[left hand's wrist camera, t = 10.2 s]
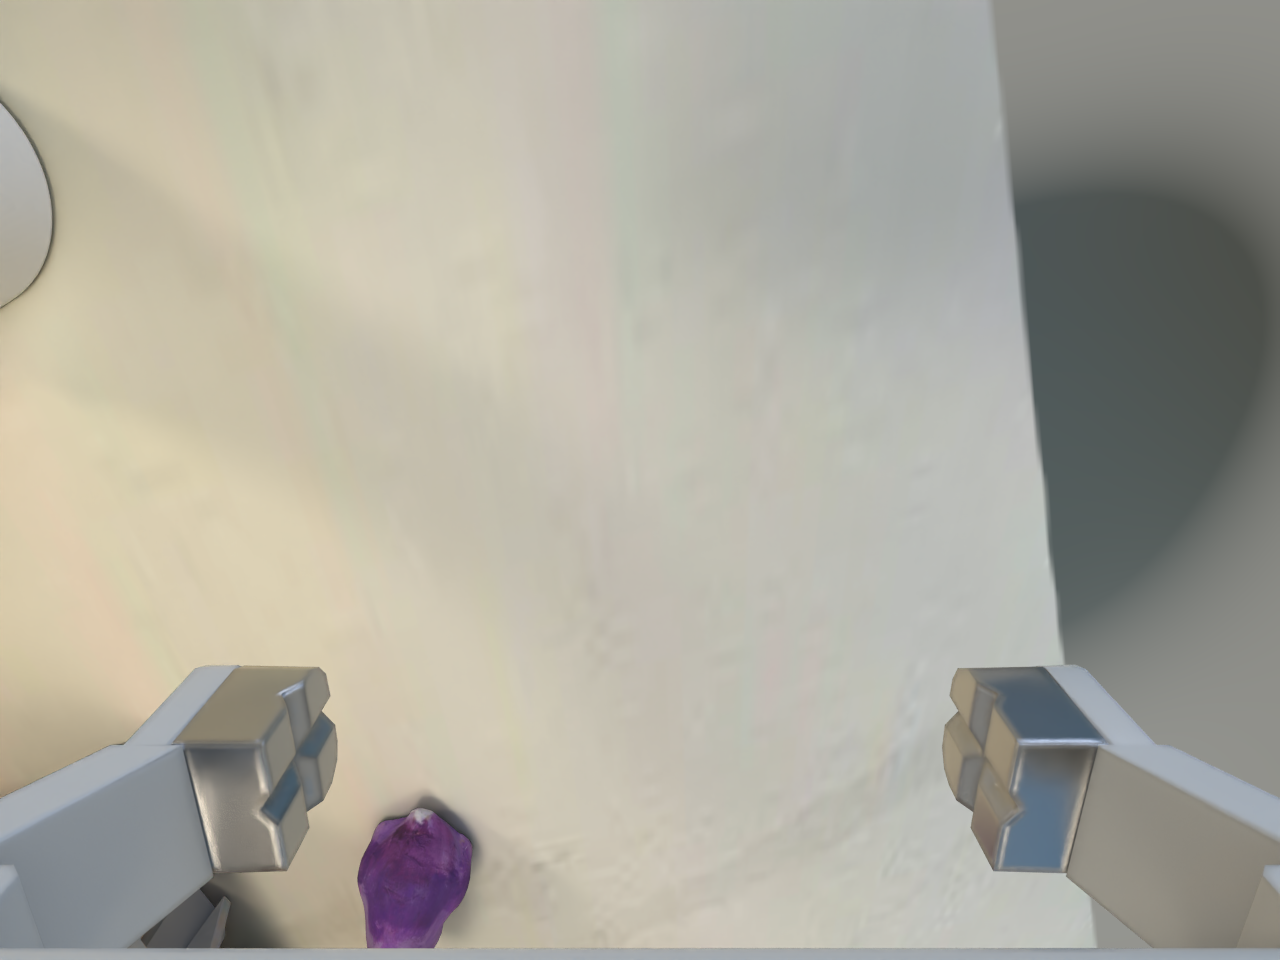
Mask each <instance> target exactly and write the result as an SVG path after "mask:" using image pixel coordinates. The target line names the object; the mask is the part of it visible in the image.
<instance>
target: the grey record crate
mask: <svg viewBox="0 0 1280 960" xmlns="http://www.w3.org/2000/svg"><path fill="white" fill-rule="evenodd" d="M230 905H231V903H230V901H229V900H228V899H227V898H226V897H225V896H223V898H222V899H221V901H220V902H219V903H218V905H217V906H216V907H214V906H213V905H212V903H211V902H210V901H209V900H208V898H207V897H206V896H205V895H204V894H203V892H202V891H201V890H200V889H198V890H197V891H196V892H195V893H194V894H192V895H191V896H190V897H189V898H187V899H186V900H185V901H184V902H183V903H181V904H180V905H179V906H178V907H177V908H175V909H174V910H173V911H172V912H170V913H169V914H168V915H167V916H166V917H164V918H163V919H162V920H161V921H160V922H158V923H157V924H156V925H155V926H153V927H152V928H151V929H150V930H149V931H147V932H146V933H145V934H144V935H143V937H142V936H141V937H140V938H139V939H138V940H136V941H135V942H134V943H133V944H132V945H130V946H129V947H128V948H219V947H220V945H221V943H222V941H223V940H224V938H225V924H226V920H227V916H228V913H229V909H230Z"/></svg>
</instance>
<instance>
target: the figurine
mask: <svg viewBox="0 0 1280 960" xmlns="http://www.w3.org/2000/svg"><path fill="white" fill-rule="evenodd" d="M472 848H473V847H472V845H471V842H470V840H469V839H468V838H467V837H465V836H464V835H463V834H460V833H458V832H457V831H456V830H455V829H454V828H453V827H451V826H450V825H449V824H448V823H447V822H446V821H444V820H443V819H442V818H440V817H439V816H438V815H436V814H435V813H434V812H433V811H431V810H428V809H424V808H416V809H414V810H412V811H411V812H410V814H409V815H408V816H407V817H404V818H402V817H401V818H400V819H394V820H386V821H383V822H381V823H380V824H379V825H378V826H377V827H376V829H375V831H374V834H373V837H372V840H371V842H370V844H369V846H368V848H367V849H366V851H365V853H364V855H363V857H362V860H361V863H360V867H359V872H358V886H359V891H360V895H361V898H362V901H363V904H364V910H365V921H366V940H367V948H434V947H435V945H436V944H437V942H438V940H439V938H440V935H441V933H442V928H443V923H444V922H445V920H446V919H447V918H448V916H449V915H450V914H451V913H452V912H453V911H454V910H455V909H456V908H457V907H458V906H459V904H460V903H461V901H462V899H463V898H464V896H465V893H466V891H467V888H468V884H469V880H470V871H471V857H472Z"/></svg>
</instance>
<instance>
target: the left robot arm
mask: <svg viewBox="0 0 1280 960" xmlns="http://www.w3.org/2000/svg"><path fill="white" fill-rule="evenodd" d="M51 234H52V206H51V199H50V194H49V189H48V185H47V181H46V178H45V175H44V172H43V169H42V167H41V164H40V162H39V159H38V157H37V155H36V153H35V151H34V149H33V147H32V145H31V144H30V142H29V140H28V138H27V137H26V135H25V134H24V132H23V130H22V129H21V128H20V126H19V125H18V123H17V122H16V121H15V119H14V118H13V117H12V116H11V114H10V113H9V112H8V111H7V110H6V109H5V107H4V106H3V105H2V104H1V103H0V308H1V307H2V306H4V305H5V304H7V303H8V302H10V301H11V300H13V299H14V298H16V297H17V296H19V295H20V294H21V293H22V292H23V291H24V290H25V289H27V288H28V286H29V285H30V284H31V283H32V282H33V281H34V279H35V278H36V276H37V275H38V273H39V272H40V270H41V268H42V266H43V264H44V261H45V259H46V256H47V253H48V250H49V246H50V241H51ZM329 697H330V691H329V687H328V682H327V677H326V673H325V672H324V671H322V670H321V669H320V668H319V667H289V666H239V665H208V666H202V667H198V668H195V669H194V670H193V671H192V672H191V673H190V674H189V675H188V677H187V678H186V679H185V680H184V681H183V682H182V683H181V684H180V685H179V686H178V687H177V688H176V689H175V690H174V692H173V693H172V694H171V695H170V696H169V697H168V698H167V699H166V700H165V701H164V702H163V703H162V704H161V705H160V707H159V708H158V709H157V710H156V711H155V712H154V713H153V714H152V715H151V716H150V717H149V718H148V719H147V720H146V722H145V723H144V724H143V725H142V726H141V727H140V728H139V729H138V730H137V731H136V732H135V733H134V734H133V735H132V737H131V738H130V739H129V740H128V741H127V742H126V743H125V744H124V745H110V746H108V747H106V748H103V749H101V750H99V751H97V752H95V753H93V754H91V755H89V756H87V757H85V758H83V759H81V760H79V761H76V762H74V763H72V764H70V765H68V766H66V767H64V768H62V769H60V770H58V771H56V772H54V773H52V774H50V775H47V776H45V777H43V778H41V779H39V780H37V781H35V782H33V783H31V784H29V785H27V786H25V787H23V788H20V789H18V790H16V791H14V792H12V793H10V794H8V795H6V796H4V797H2V798H0V960H1280V798H1278V797H1276V796H1274V795H1272V794H1270V793H1268V792H1265V791H1263V790H1261V789H1259V788H1257V787H1255V786H1253V785H1251V784H1249V783H1247V782H1245V781H1243V780H1241V779H1239V778H1236V777H1234V776H1232V775H1230V774H1228V773H1226V772H1224V771H1222V770H1220V769H1218V768H1216V767H1214V766H1212V765H1210V764H1208V763H1206V762H1203V761H1201V760H1199V759H1197V758H1195V757H1193V756H1191V755H1189V754H1187V753H1185V752H1183V751H1181V750H1178V749H1177V748H1174V747H1172V746H1170V745H1156V744H1155V743H1154V742H1153V741H1152V740H1151V739H1150V738H1149V737H1148V735H1147V734H1146V733H1145V732H1144V731H1143V730H1142V729H1141V728H1140V727H1139V726H1138V725H1137V724H1136V723H1135V722H1134V720H1133V719H1132V718H1131V717H1130V716H1129V715H1128V714H1127V713H1126V712H1125V711H1124V710H1123V709H1122V708H1121V706H1120V705H1119V704H1118V703H1117V702H1116V701H1115V700H1114V699H1113V698H1112V697H1111V696H1110V695H1109V694H1108V693H1107V691H1106V690H1105V689H1104V688H1103V687H1102V686H1101V685H1100V684H1099V683H1098V682H1097V681H1096V680H1095V679H1094V678H1093V676H1092V675H1091V674H1090V673H1089V672H1088V671H1087V670H1086V669H1084V668H1082V667H1080V666H1077V665H1056V666H1036V667H998V668H958V669H957V671H956V673H955V675H954V677H953V680H952V685H951V691H950V697H951V699H952V701H953V702H954V704H955V706H956V707H957V709H958V712H957V713H956V714H955V715H954V716H953V717H952V718H951V719H950V720H949V721H948V722H947V723H946V724H945V728H944V737H943V745H942V750H943V761H944V770H945V773H946V776H947V780H948V783H949V786H950V788H951V790H952V792H953V794H954V796H955V798H956V800H957V801H958V802H960V803H961V804H963V805H964V806H965V807H967V808H968V809H970V810H971V811H973V817H972V823H971V829H972V831H973V833H974V835H975V837H976V839H977V841H978V843H979V845H980V846H981V848H982V850H983V852H984V854H985V856H986V858H987V860H988V862H989V864H990V865H991V867H992V869H993V871H1008V872H1043V873H1067V875H1066V877H1067V878H1069V879H1070V880H1071V881H1072V882H1073V883H1075V884H1076V885H1077V886H1078V887H1080V888H1081V889H1082V890H1083V891H1084V892H1086V893H1087V894H1088V895H1089V896H1090V897H1092V898H1093V899H1094V900H1095V901H1097V902H1098V903H1099V904H1100V905H1101V906H1103V907H1104V908H1105V909H1106V910H1107V911H1109V912H1110V913H1111V914H1112V915H1114V916H1115V917H1116V918H1117V919H1118V920H1120V921H1121V922H1122V923H1123V924H1124V925H1126V926H1127V927H1128V928H1129V929H1130V930H1132V931H1133V932H1134V933H1135V934H1137V935H1138V936H1139V937H1140V938H1141V939H1143V940H1144V941H1145V942H1146V943H1147V944H1149V945H1150V946H1151V947H1152V948H128V947H129V946H130V945H132V944H133V943H134V942H135V941H136V940H138V939H139V938H140V937H141V936H142V935H144V934H145V933H146V932H147V931H149V930H150V929H151V928H152V927H153V926H155V925H156V924H157V923H158V922H160V921H161V920H162V919H163V918H164V917H166V916H167V915H168V914H169V913H170V912H172V911H173V910H174V909H175V908H177V907H178V906H179V905H180V904H181V903H183V902H184V901H185V900H186V899H187V898H189V897H190V896H191V895H192V894H194V893H195V892H196V891H197V890H198V889H200V888H201V887H202V886H203V885H205V884H206V883H207V882H208V881H209V880H211V879H212V878H213V876H214V875H213V873H236V872H270V871H287V869H288V868H289V866H290V864H291V862H292V860H293V858H294V856H295V854H296V852H297V850H298V848H299V847H300V845H301V843H302V841H303V839H304V837H305V835H306V833H307V831H308V829H309V823H308V817H307V811H309V810H310V809H312V808H313V807H315V806H316V805H317V804H319V803H320V802H322V801H323V800H324V798H325V796H326V794H327V792H328V790H329V788H330V786H331V784H332V780H333V776H334V772H335V767H336V763H337V735H336V728H335V724H334V723H333V722H332V721H331V720H330V719H329V718H328V717H327V716H326V715H325V714H324V713H323V712H322V709H323V707H324V706H325V704H326V702H327V701H328V699H329Z"/></svg>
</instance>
